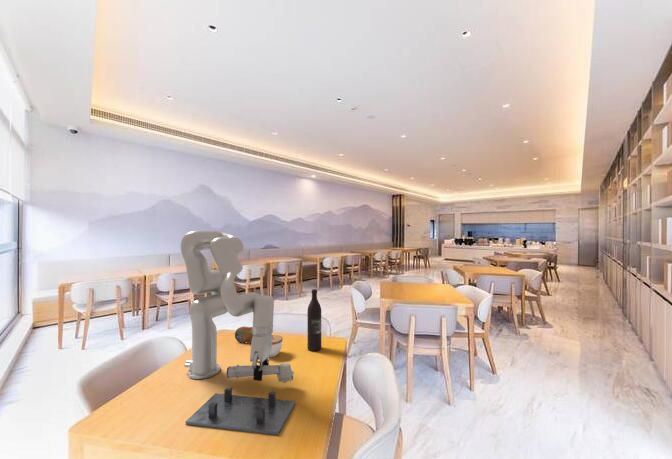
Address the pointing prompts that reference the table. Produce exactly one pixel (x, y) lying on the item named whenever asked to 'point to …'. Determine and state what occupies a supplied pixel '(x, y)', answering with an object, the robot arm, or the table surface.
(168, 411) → the table surface
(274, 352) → the lidded jar
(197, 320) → the robot arm
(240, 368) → the white handheld device
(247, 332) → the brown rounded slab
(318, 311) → the wine bottle
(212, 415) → the peg stand
